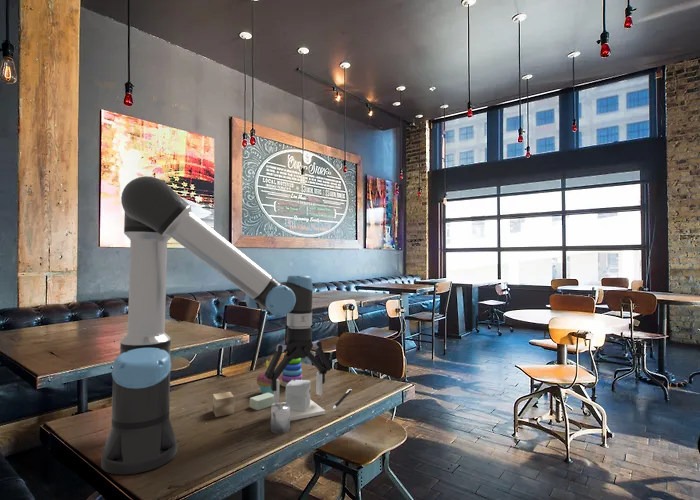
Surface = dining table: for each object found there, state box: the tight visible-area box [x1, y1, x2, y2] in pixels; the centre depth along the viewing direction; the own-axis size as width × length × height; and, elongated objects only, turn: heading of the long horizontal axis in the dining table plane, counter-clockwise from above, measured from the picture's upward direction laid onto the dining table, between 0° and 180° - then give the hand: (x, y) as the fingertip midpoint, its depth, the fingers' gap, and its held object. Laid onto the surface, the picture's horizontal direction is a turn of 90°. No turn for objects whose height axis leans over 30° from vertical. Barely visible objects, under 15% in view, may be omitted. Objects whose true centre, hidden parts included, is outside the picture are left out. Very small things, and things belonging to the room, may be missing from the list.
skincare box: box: [285, 379, 311, 411], centre depth 120 cm, size 6×6×7 cm
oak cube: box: [212, 391, 235, 418], centre depth 118 cm, size 5×5×5 cm
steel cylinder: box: [270, 402, 291, 434], centre depth 107 cm, size 5×5×6 cm
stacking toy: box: [280, 336, 303, 388], centre depth 144 cm, size 8×8×19 cm
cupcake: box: [256, 360, 282, 394], centre depth 135 cm, size 9×8×12 cm
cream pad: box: [272, 398, 326, 422], centre depth 120 cm, size 12×12×1 cm
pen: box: [332, 388, 352, 410], centre depth 131 cm, size 1×19×1 cm, turn 164°
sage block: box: [249, 392, 277, 411], centre depth 124 cm, size 7×4×3 cm, turn 139°
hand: (298, 398), depth 120 cm, fingers open, 13 cm apart
